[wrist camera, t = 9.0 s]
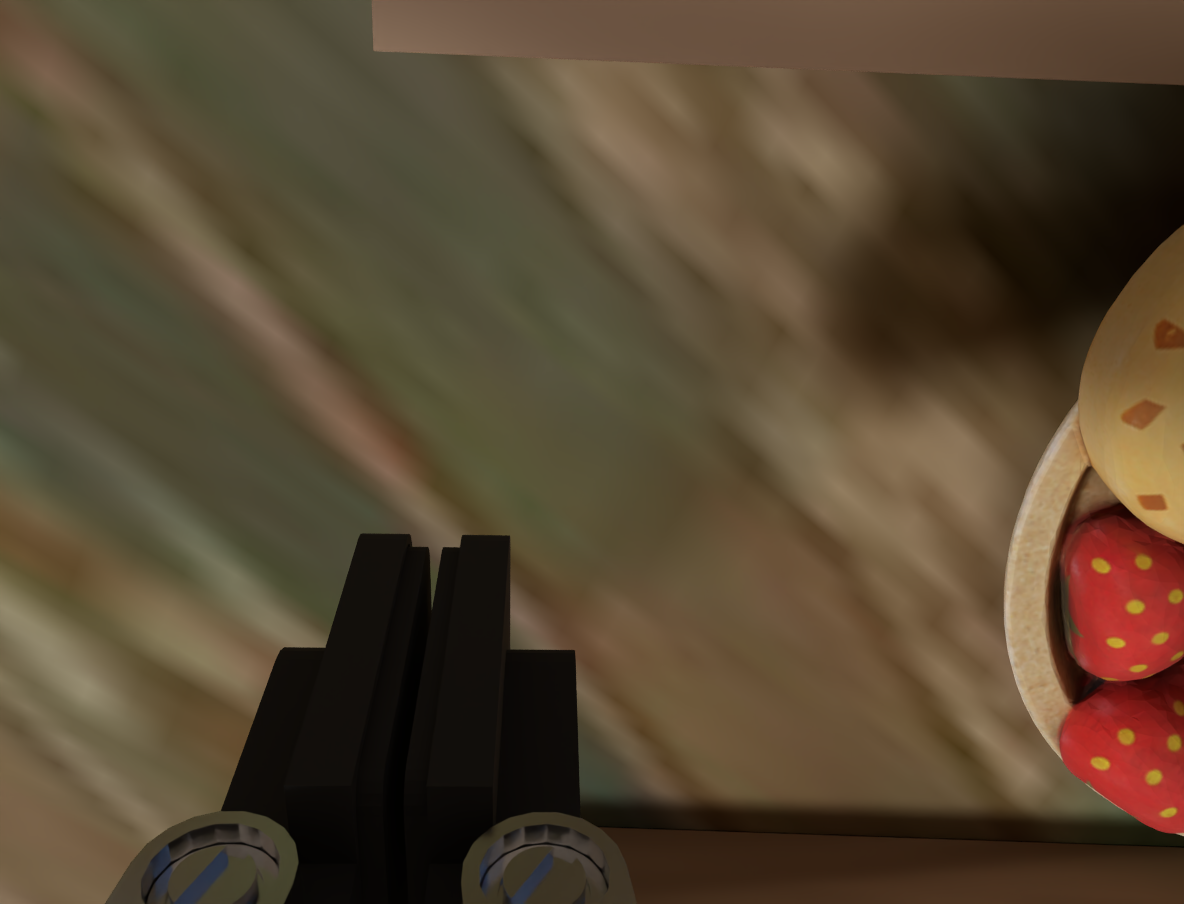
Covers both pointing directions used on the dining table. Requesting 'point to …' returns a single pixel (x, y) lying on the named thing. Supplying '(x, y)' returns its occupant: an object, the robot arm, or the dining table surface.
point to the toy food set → (1112, 559)
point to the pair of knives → (868, 44)
